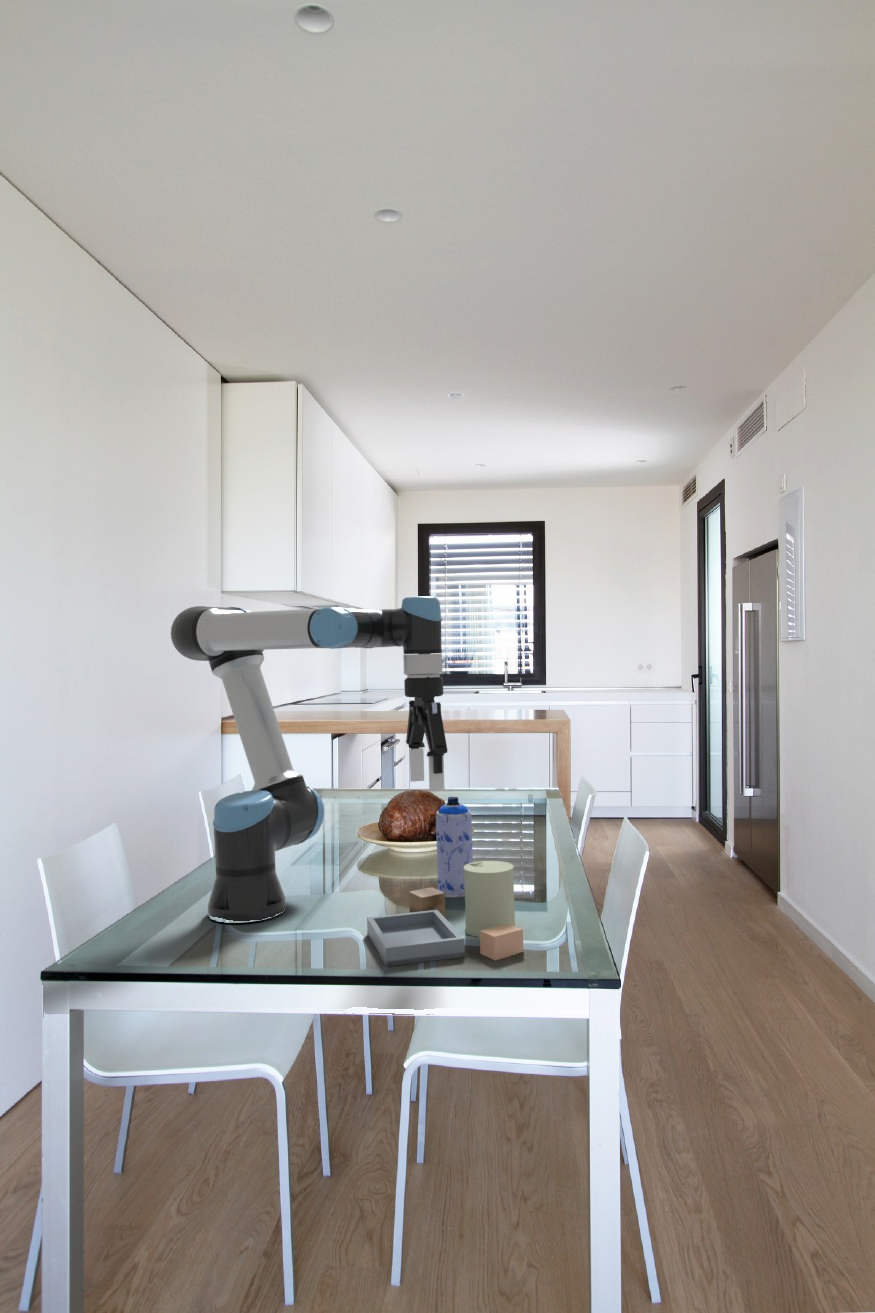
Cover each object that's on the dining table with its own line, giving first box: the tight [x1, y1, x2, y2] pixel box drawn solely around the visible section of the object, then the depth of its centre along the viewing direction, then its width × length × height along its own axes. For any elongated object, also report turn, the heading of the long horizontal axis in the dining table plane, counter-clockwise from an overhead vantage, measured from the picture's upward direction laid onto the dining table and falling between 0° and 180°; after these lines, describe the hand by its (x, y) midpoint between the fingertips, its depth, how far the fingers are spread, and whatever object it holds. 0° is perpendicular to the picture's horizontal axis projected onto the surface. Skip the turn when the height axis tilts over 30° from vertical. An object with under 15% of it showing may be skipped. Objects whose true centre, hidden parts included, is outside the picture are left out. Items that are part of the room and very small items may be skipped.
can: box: [463, 860, 516, 938], centre depth 155 cm, size 9×9×12 cm
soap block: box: [479, 924, 524, 961], centre depth 143 cm, size 6×4×4 cm, turn 124°
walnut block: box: [408, 886, 446, 918], centre depth 164 cm, size 5×5×5 cm
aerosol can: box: [435, 796, 474, 898], centre depth 181 cm, size 8×8×20 cm
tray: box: [366, 910, 466, 968], centre depth 148 cm, size 17×13×3 cm
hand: (426, 785), depth 166 cm, fingers open, 13 cm apart
